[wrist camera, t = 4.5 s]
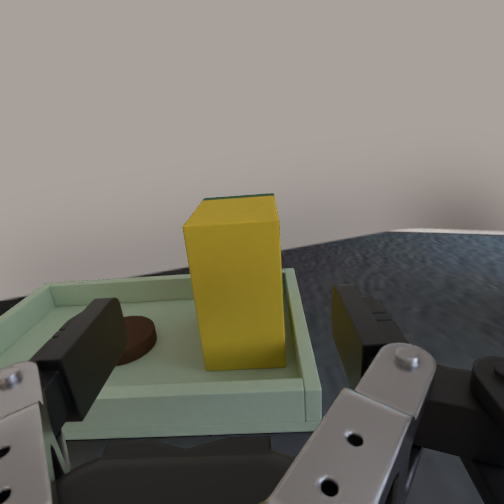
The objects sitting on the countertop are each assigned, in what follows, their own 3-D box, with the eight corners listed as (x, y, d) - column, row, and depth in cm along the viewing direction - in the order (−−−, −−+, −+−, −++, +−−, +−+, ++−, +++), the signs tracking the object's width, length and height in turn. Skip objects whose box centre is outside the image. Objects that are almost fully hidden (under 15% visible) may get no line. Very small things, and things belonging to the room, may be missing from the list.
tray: (294, 295, 28) (293, 267, 28) (322, 431, 16) (321, 389, 15) (54, 308, 30) (45, 282, 29) (-101, 446, 17) (-126, 407, 16)
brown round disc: (164, 325, 24) (162, 313, 24) (145, 365, 20) (142, 352, 20) (107, 328, 25) (103, 316, 24) (76, 368, 21) (72, 355, 20)
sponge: (280, 308, 25) (273, 193, 22) (286, 368, 19) (279, 219, 16) (218, 311, 26) (203, 198, 22) (205, 371, 19) (181, 226, 16)
